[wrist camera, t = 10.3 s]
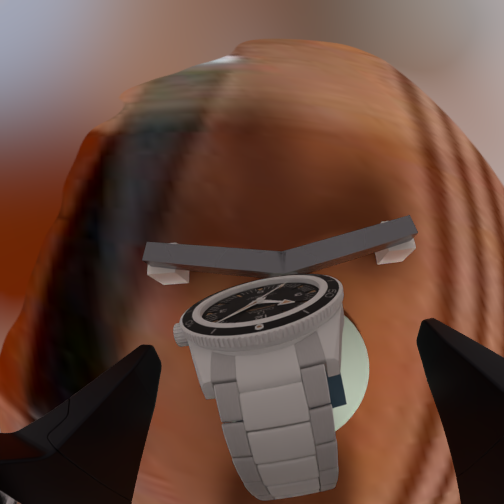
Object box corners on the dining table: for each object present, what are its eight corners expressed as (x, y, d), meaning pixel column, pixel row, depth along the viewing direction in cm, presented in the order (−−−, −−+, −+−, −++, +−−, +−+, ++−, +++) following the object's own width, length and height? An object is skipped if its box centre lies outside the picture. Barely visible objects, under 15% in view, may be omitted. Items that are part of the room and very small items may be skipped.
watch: (314, 298, 16) (350, 204, 6) (341, 420, 13) (412, 507, 3) (226, 317, 17) (131, 256, 6) (250, 439, 14) (189, 542, 3)
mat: (352, 446, 13) (354, 449, 12) (205, 428, 15) (202, 430, 14) (373, 305, 16) (375, 303, 16) (228, 290, 18) (226, 288, 17)
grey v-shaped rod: (396, 235, 18) (408, 219, 15) (405, 277, 16) (420, 266, 14) (164, 258, 19) (149, 245, 17) (162, 301, 18) (145, 293, 16)
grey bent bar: (405, 223, 15) (412, 214, 14) (416, 264, 14) (424, 257, 13) (152, 249, 17) (143, 242, 16) (149, 290, 16) (140, 284, 15)
